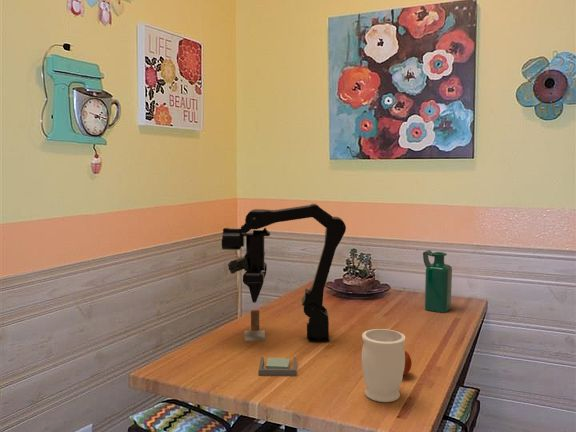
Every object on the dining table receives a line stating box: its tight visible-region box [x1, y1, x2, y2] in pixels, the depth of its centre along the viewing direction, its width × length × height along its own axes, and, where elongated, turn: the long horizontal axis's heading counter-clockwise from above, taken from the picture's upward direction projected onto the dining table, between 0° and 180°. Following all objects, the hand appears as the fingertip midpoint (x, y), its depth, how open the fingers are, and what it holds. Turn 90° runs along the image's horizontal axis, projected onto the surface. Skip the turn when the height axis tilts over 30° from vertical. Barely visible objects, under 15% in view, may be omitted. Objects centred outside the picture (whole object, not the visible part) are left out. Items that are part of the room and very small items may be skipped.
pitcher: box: [422, 249, 453, 314], centre depth 201 cm, size 10×8×22 cm
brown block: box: [244, 309, 266, 342], centre depth 169 cm, size 6×4×9 cm, turn 89°
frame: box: [258, 356, 297, 377], centre depth 146 cm, size 10×9×2 cm
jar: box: [361, 328, 406, 403], centre depth 129 cm, size 11×10×15 cm
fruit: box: [403, 350, 413, 376], centre depth 141 cm, size 7×7×8 cm
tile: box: [265, 357, 291, 369], centre depth 146 cm, size 6×6×2 cm
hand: (255, 298), depth 169 cm, fingers open, 9 cm apart
